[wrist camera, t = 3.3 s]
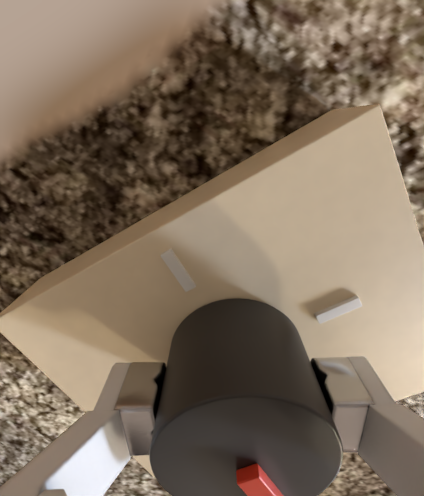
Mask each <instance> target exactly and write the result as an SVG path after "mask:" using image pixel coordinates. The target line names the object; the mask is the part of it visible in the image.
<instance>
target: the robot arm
mask: <svg viewBox="0 0 424 496" xmlns="http://www.w3.org/2000/svg"><path fill="white" fill-rule="evenodd" d="M310 362H311V365H312V367H313V370H314V373H315V375H316V378H317V380H318V383H319V385H320V388H321V390H322V393H323V395H324V398H325V400H326V403H327V405H328V408H329V410H330V413H331V415H332V418H333V420H334V423H335V425H336V428H337V430H338V433H339V436H340V438H341V442H342V446H343V452H358V455H359V456H360V457H361V458H362V459H363V460H364V461H365V462H366V463H367V464H368V465H369V466H370V467H371V468H372V470H373V471H374V472H375V473H376V474H377V475H378V476H379V477H380V478H381V479H382V480H383V481H384V482H385V483H386V485H387V486H388V487H389V488H390V489H391V490H392V491H393V492H394V493H395V494H396V495H397V496H424V419H423V418H422V417H420V416H419V415H417V414H416V413H414V412H413V411H411V410H410V409H408V408H407V407H405V406H404V405H403V404H396V403H395V401H394V400H393V398H392V397H391V395H390V394H389V392H388V390H387V389H386V387H385V386H384V384H383V383H382V381H381V380H380V378H379V377H378V375H377V374H376V372H375V371H374V369H373V368H372V366H371V364H370V363H369V361H368V360H367V358H365V357H364V356H353V357H327V358H312V359H311V361H310ZM165 371H166V364H165V363H164V362H132V363H115V364H114V365H113V366H112V368H111V371H110V373H109V375H108V378H107V380H106V382H105V385H104V387H103V389H102V392H101V394H100V396H99V399H98V401H97V403H96V405H95V408H94V410H93V411H87V412H86V413H85V414H84V415H83V416H82V417H80V418H79V419H78V420H77V421H76V422H75V423H74V424H72V425H71V426H70V427H69V428H68V429H67V430H66V431H64V432H63V433H62V434H61V435H60V436H59V437H57V438H56V439H55V440H54V441H53V442H52V443H51V444H49V445H48V446H47V447H46V448H45V449H44V450H42V451H41V452H40V453H39V454H38V455H37V456H36V457H34V458H33V459H32V460H31V461H30V462H29V463H27V464H26V465H25V466H24V467H23V468H22V469H21V470H19V471H18V472H17V473H16V474H15V475H14V476H12V477H11V478H10V479H9V480H8V481H7V482H6V483H4V484H3V485H2V486H1V487H0V496H103V495H104V493H105V492H106V491H107V489H108V488H109V487H110V485H111V484H112V483H113V481H114V480H115V479H116V477H117V476H118V474H119V473H120V472H121V470H122V469H123V468H124V466H125V465H126V464H127V462H128V461H129V460H130V456H140V455H149V450H150V445H151V440H152V435H153V430H154V425H155V420H156V415H157V410H158V406H159V401H160V396H161V391H162V386H163V381H164V376H165Z"/></svg>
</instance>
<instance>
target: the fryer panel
mask: <svg viewBox="0 0 424 496" xmlns="http://www.w3.org/2000/svg"><path fill="white" fill-rule="evenodd" d="M233 298H242V299H251V300H257V301H260V302H263V303H266V304H268V305H271V306H273V307H274V308H276V309H278V310H279V311H281V312H282V313H283V314H285V315H286V316H287V317H288V318H289V319H290V320H291V321H292V322H293V324H294V325H295V327H296V328H297V330H298V333H299V335H300V337H301V340H302V342H303V345H304V347H305V350H306V352H307V355H308V357H309V360H310V361H311V359H312V358H327V357H353V356H364V357H365V358H367V360H368V361H369V363H370V364H371V366H372V368H373V369H374V371H375V372H376V374H377V375H378V377H379V378H380V380H381V381H382V383H383V384H384V386H385V387H386V389H387V390H388V392H389V394H390V395H391V397H392V398H393V400H394V401H398V400H401V399H404V398H407V397H409V396H412V395H415V394H418V393H421V392H424V245H423V242H422V239H421V236H420V233H419V229H418V226H417V223H416V220H415V216H414V213H413V210H412V207H411V203H410V200H409V197H408V194H407V191H406V187H405V184H404V181H403V178H402V174H401V171H400V168H399V165H398V162H397V158H396V155H395V152H394V149H393V145H392V142H391V139H390V136H389V132H388V129H387V126H386V123H385V120H384V116H383V113H382V110H381V107H380V105H379V104H375V105H367V106H359V107H351V108H343V109H335V110H331V111H329V112H327V113H326V114H324V115H322V116H320V117H319V118H317V119H315V120H314V121H312V122H310V123H308V124H307V125H305V126H303V127H301V128H300V129H298V130H296V131H294V132H293V133H291V134H289V135H288V136H286V137H284V138H282V139H281V140H279V141H277V142H275V143H274V144H272V145H270V146H268V147H267V148H265V149H263V150H262V151H260V152H258V153H256V154H255V155H253V156H251V157H249V158H248V159H246V160H244V161H242V162H241V163H239V164H237V165H236V166H234V167H232V168H230V169H229V170H227V171H225V172H223V173H222V174H220V175H218V176H216V177H215V178H213V179H211V180H210V181H208V182H206V183H204V184H203V185H201V186H199V187H197V188H196V189H194V190H192V191H190V192H189V193H187V194H185V195H184V196H182V197H180V198H178V199H177V200H175V201H173V202H171V203H170V204H168V205H166V206H164V207H163V208H161V209H159V210H158V211H156V212H154V213H152V214H151V215H149V216H147V217H145V218H144V219H142V220H140V221H138V222H137V223H135V224H133V225H132V226H130V227H128V228H126V229H125V230H123V231H121V232H119V233H118V234H116V235H114V236H112V237H111V238H109V239H107V240H106V241H104V242H102V243H100V244H99V245H97V246H95V247H93V248H92V249H90V250H88V251H86V252H85V253H83V254H81V255H80V256H78V257H76V258H74V259H73V260H71V261H69V262H67V263H66V264H64V265H62V266H60V267H59V268H57V269H55V270H54V271H52V272H50V273H48V274H47V275H45V276H43V277H41V278H40V279H39V280H38V281H36V282H35V283H34V284H33V285H32V286H31V287H30V288H29V289H27V290H26V291H25V292H24V293H23V294H22V295H21V296H19V297H18V298H17V299H16V300H15V301H14V302H13V303H11V304H10V305H9V306H8V307H7V308H6V309H5V310H3V311H2V312H1V313H0V333H2V334H3V335H4V336H5V337H6V338H7V339H8V340H9V341H10V342H11V343H12V344H13V345H14V346H15V347H16V348H17V349H19V350H20V351H21V352H22V353H23V354H24V355H25V356H26V357H27V358H28V359H29V360H30V361H31V362H32V363H33V364H34V365H35V366H37V367H38V368H39V369H40V370H41V371H42V372H43V373H44V374H45V375H46V376H47V377H48V378H49V379H50V380H51V381H52V382H53V383H55V384H56V385H57V386H58V387H59V388H60V389H61V390H62V391H63V392H64V393H65V394H66V395H67V396H68V397H69V398H70V399H72V400H73V401H74V402H75V403H76V404H77V405H78V406H79V407H80V408H81V409H82V410H83V411H84V412H85V413H86V412H87V411H93V410H94V408H95V405H96V403H97V401H98V399H99V396H100V394H101V392H102V389H103V387H104V385H105V382H106V380H107V378H108V375H109V373H110V371H111V368H112V366H113V365H114V364H115V363H132V362H164V363H165V364H166V366H167V361H168V357H169V352H170V347H171V342H172V338H173V336H174V333H175V331H176V329H177V328H178V326H179V325H180V324H181V322H182V321H183V320H184V319H185V318H186V317H187V316H188V315H189V314H191V313H192V312H193V311H195V310H196V309H198V308H200V307H202V306H204V305H206V304H209V303H211V302H215V301H219V300H224V299H233ZM132 457H133V458H134V459H135V460H136V461H137V462H138V463H139V464H140V465H142V466H143V467H144V468H145V469H146V470H147V471H148V472H149V473H150V474H151V475H152V476H153V477H154V478H155V476H154V474H153V471H152V469H151V465H150V460H149V455H140V456H132ZM155 479H156V478H155ZM156 480H157V479H156Z"/></svg>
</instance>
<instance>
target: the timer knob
mask: <svg viewBox="0 0 424 496" xmlns="http://www.w3.org/2000/svg"><path fill="white" fill-rule="evenodd" d="M342 459H343V446H342V442H341V438H340V436H339V433H338V430H337V428H336V425H335V423H334V420H333V418H332V415H331V413H330V410H329V408H328V405H327V403H326V400H325V398H324V395H323V393H322V390H321V388H320V385H319V383H318V380H317V378H316V375H315V373H314V370H313V367H312V365H311V362H310V360H309V357H308V355H307V352H306V350H305V347H304V345H303V342H302V340H301V337H300V335H299V333H298V330H297V328H296V327H295V325H294V324H293V322H292V321H291V320H290V319H289V318H288V317H287V316H286V315H285V314H283V313H282V312H281V311H279V310H278V309H276V308H274V307H273V306H271V305H268V304H266V303H263V302H260V301H257V300H251V299H242V298H233V299H224V300H219V301H215V302H211V303H209V304H206V305H204V306H202V307H200V308H198V309H196V310H195V311H193V312H192V313H191V314H189V315H188V316H187V317H186V318H185V319H184V320H183V321H182V322H181V324H180V325H179V326H178V328H177V329H176V331H175V333H174V336H173V338H172V342H171V347H170V352H169V357H168V361H167V366H166V371H165V376H164V381H163V386H162V391H161V396H160V401H159V406H158V410H157V415H156V420H155V425H154V430H153V435H152V440H151V445H150V450H149V460H150V465H151V469H152V471H153V474H154V476H155V478H156V479H157V481H158V482H159V484H160V485H161V486H162V487H163V488H164V489H165V490H166V491H167V492H168V493H169V494H171V495H172V496H317V495H319V494H320V493H322V492H323V491H324V490H325V489H326V488H327V487H328V486H329V485H330V484H331V483H332V482H333V480H334V479H335V477H336V476H337V474H338V472H339V470H340V467H341V464H342Z"/></svg>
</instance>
